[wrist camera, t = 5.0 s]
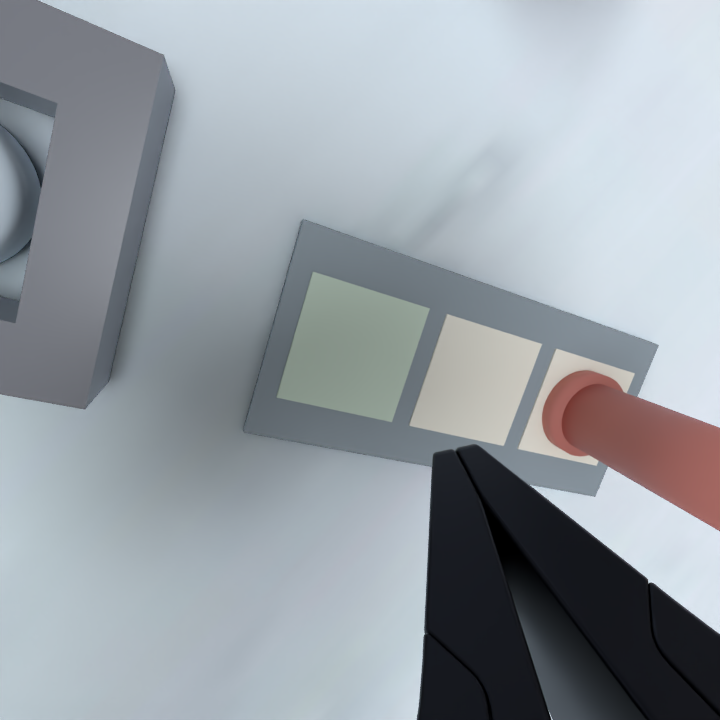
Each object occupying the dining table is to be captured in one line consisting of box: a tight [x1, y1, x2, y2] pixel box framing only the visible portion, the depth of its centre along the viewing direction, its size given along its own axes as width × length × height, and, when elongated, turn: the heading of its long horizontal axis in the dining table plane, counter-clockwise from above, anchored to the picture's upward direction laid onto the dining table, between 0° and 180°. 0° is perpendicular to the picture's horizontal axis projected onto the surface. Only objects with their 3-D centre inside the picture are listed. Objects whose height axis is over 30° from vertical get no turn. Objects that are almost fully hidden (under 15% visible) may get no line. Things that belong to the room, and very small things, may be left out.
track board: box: [243, 219, 659, 497], centre depth 24 cm, size 10×22×1 cm, turn 72°
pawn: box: [542, 370, 720, 531], centre depth 20 cm, size 5×5×13 cm
